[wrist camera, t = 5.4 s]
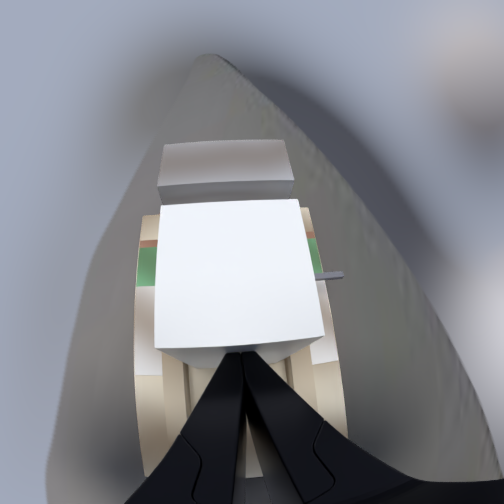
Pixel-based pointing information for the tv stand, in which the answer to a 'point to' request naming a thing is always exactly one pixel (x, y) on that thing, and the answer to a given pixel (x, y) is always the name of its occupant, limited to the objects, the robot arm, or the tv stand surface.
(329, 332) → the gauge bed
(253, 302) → the white rectangular block
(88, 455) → the tv stand surface
